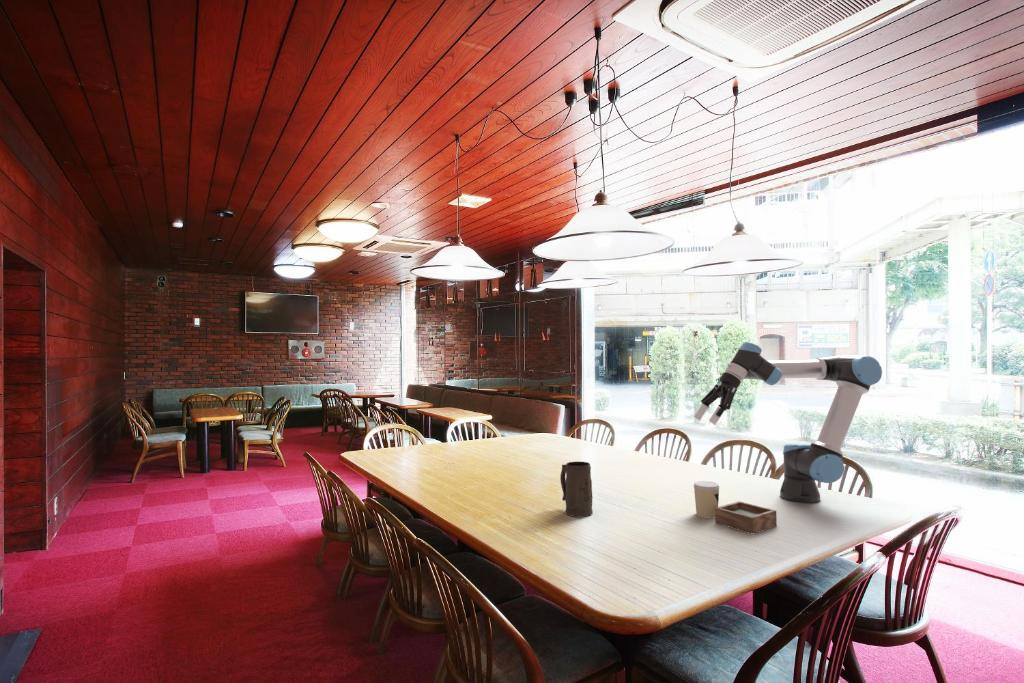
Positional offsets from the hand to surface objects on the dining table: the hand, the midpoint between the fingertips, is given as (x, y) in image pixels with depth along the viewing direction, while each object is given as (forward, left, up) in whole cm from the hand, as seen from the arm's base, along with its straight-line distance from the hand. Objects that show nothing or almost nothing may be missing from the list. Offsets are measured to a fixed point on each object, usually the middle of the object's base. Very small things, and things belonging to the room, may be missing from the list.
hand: (704, 420), depth 209 cm
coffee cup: (+4, +3, -36) cm, 36 cm away
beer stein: (+43, -30, -36) cm, 63 cm away
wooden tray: (+2, +18, -36) cm, 40 cm away
